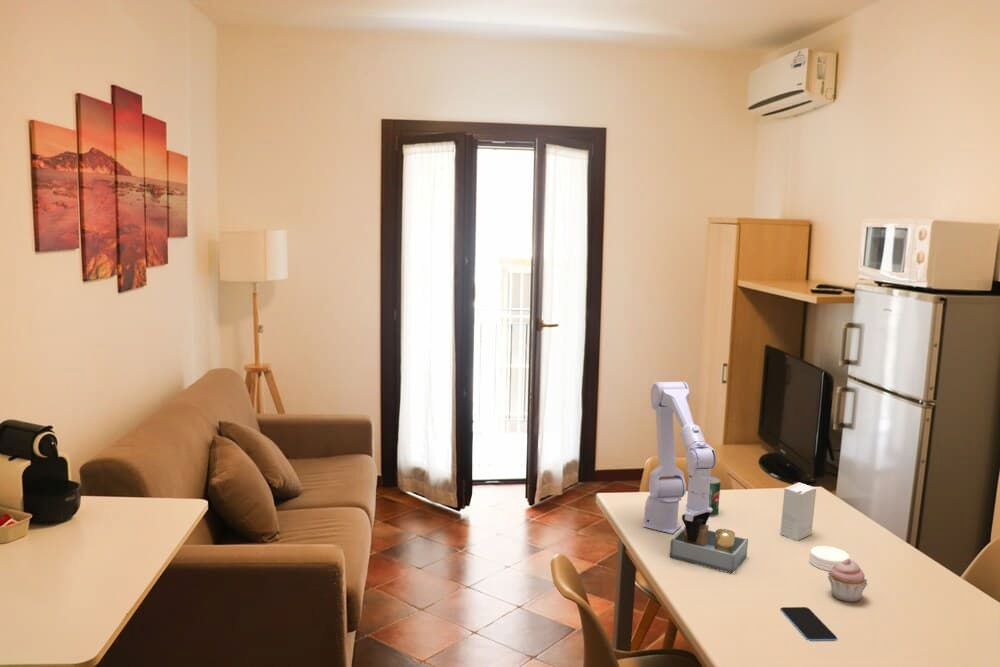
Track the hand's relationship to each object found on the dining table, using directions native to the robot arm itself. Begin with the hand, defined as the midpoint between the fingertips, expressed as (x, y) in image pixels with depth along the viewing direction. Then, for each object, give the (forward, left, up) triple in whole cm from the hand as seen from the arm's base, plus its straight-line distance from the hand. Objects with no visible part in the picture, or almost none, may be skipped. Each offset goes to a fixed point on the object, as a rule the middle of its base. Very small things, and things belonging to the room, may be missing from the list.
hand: (695, 538), depth 220 cm
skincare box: (+21, +31, -5) cm, 38 cm away
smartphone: (+35, -23, -5) cm, 42 cm away
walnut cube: (0, 0, -2) cm, 2 cm away
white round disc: (+33, +15, -5) cm, 36 cm away
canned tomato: (-7, +33, -5) cm, 34 cm away
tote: (+4, 0, -4) cm, 6 cm away
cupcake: (+40, -3, -5) cm, 40 cm away
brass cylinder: (+8, 0, -3) cm, 9 cm away
